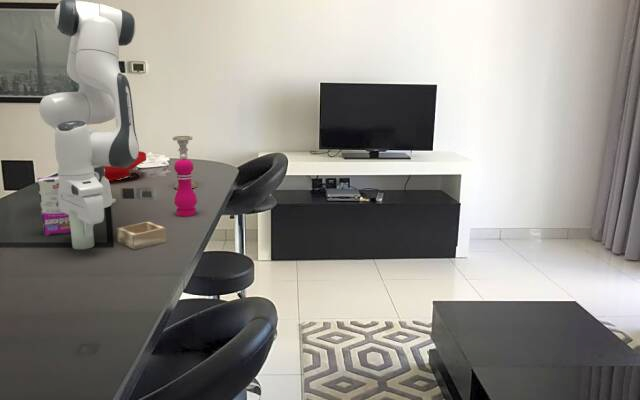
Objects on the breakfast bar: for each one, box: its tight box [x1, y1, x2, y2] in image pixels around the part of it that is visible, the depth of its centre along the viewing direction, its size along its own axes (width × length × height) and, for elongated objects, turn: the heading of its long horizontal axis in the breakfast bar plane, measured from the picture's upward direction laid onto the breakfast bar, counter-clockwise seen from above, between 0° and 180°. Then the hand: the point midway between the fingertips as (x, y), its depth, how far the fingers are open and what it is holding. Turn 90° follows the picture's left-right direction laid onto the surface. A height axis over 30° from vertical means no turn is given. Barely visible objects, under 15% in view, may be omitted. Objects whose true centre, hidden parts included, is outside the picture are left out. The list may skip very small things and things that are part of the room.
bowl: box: [104, 150, 147, 182], centre depth 235 cm, size 30×30×10 cm
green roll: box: [69, 211, 95, 250], centre depth 149 cm, size 6×6×10 cm
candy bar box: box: [36, 175, 71, 237], centre depth 161 cm, size 11×5×16 cm, turn 117°
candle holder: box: [172, 135, 197, 190], centre depth 218 cm, size 9×9×20 cm
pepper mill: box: [174, 154, 198, 217], centre depth 180 cm, size 7×7×20 cm
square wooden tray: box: [116, 220, 167, 250], centre depth 153 cm, size 10×10×4 cm
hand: (82, 233), depth 149 cm, fingers closed on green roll, 5 cm apart
